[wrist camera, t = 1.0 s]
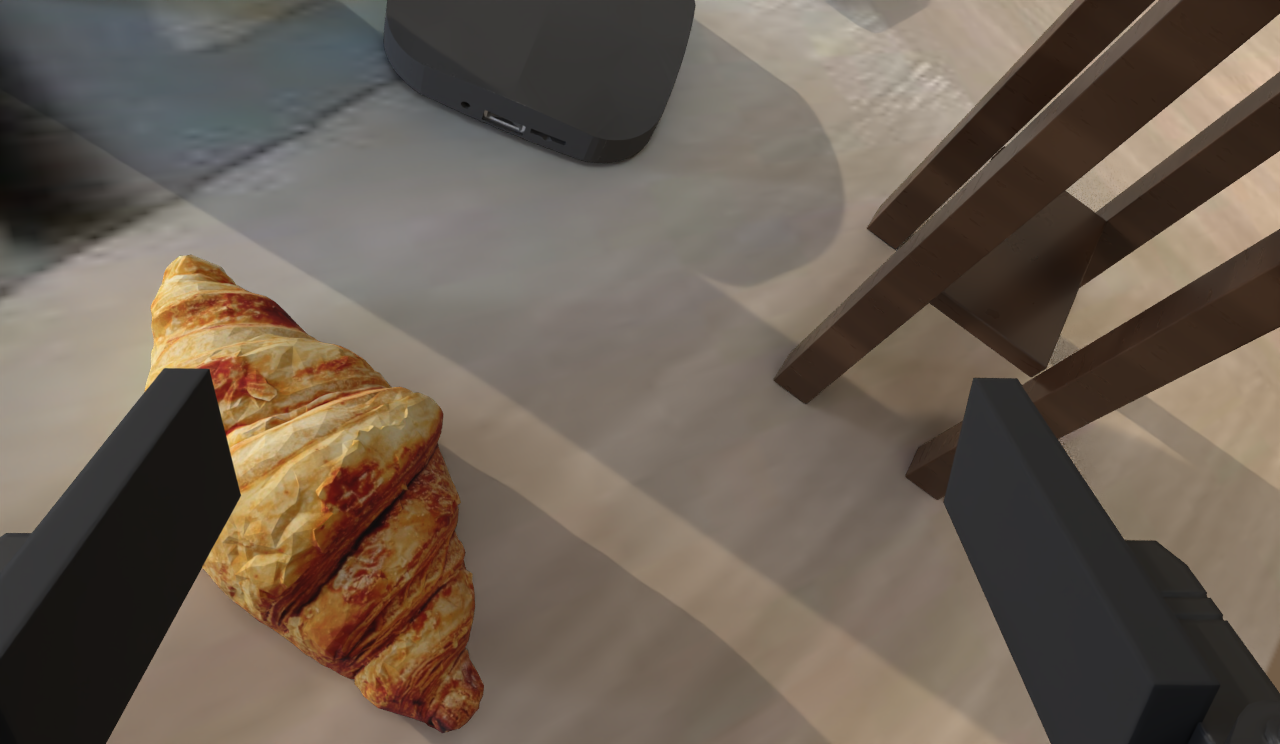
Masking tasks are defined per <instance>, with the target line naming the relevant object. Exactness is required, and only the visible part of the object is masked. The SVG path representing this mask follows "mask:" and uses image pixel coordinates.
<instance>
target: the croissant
mask: <svg viewBox="0 0 1280 744" xmlns="http://www.w3.org/2000/svg"><path fill="white" fill-rule="evenodd" d="M151 313H152V325H151V329H152V332H153V337H154V348H153V350H152V352H151V366H152V367H151V370H150V373H149V376H148V380H147V383H146V388H145V391H146V390H147V389H148V387H149V386H150V385H151V384H152V382H153V381H154V380H155V379H156V377H157V376H158V375H159V374H160V372H161V371H162V370H163V369H164V368H195V369H210V373H211V377H212V381H213V385H214V389H215V393H216V397H217V401H218V405H219V409H220V413H221V417H222V421H223V425H224V429H225V433H226V437H227V441H228V445H229V449H230V453H231V457H232V461H233V465H234V469H235V473H236V477H237V481H238V485H239V489H240V493H241V497H240V499H239V501H238V502H237V504H236V506H235V508H234V510H233V512H232V513H231V515H230V517H229V519H228V521H227V523H226V524H225V526H224V528H223V530H222V532H221V534H220V535H219V537H218V539H217V541H216V543H215V545H214V546H213V548H212V550H211V552H210V554H209V556H208V557H207V559H206V561H205V563H204V565H203V568H204V570H205V571H206V572H207V573H208V574H209V575H210V577H211V578H212V579H213V580H214V581H215V583H216V584H217V585H218V586H219V588H220V589H221V590H222V591H223V592H224V593H225V594H226V595H227V596H228V597H229V598H230V599H231V600H233V601H234V602H235V603H237V604H238V605H239V606H241V607H242V608H243V609H245V610H246V611H247V612H249V613H250V614H251V615H252V616H253V617H255V618H256V619H257V620H258V621H260V622H261V623H263V624H265V625H267V626H268V627H270V628H272V629H273V630H275V631H276V632H278V633H279V634H280V635H282V636H283V637H285V638H286V639H287V640H289V641H290V642H291V643H293V644H294V645H295V646H296V647H297V648H299V649H300V650H301V651H302V652H303V653H305V654H306V655H308V656H310V657H312V658H313V659H314V660H316V661H317V662H319V663H320V664H322V665H324V666H326V667H328V668H331V669H332V670H334V671H336V672H337V673H339V674H341V675H343V676H345V677H347V678H349V679H355V685H356V686H357V687H358V688H359V689H360V690H361V692H362V694H363V696H364V697H365V698H366V699H368V700H369V701H370V702H371V703H373V704H374V705H375V706H376V707H378V708H380V709H383V710H387V711H390V712H393V713H397V714H400V715H403V716H407V717H410V718H413V719H416V720H419V721H422V722H425V723H426V724H427V725H428V726H430V727H433V728H435V729H437V730H438V731H440V732H441V733H445V732H449V731H452V730H455V729H459V728H461V727H462V726H463V725H465V724H466V723H467V722H468V721H469V720H470V719H471V717H472V716H473V714H474V713H475V712H476V711H477V710H478V709H479V703H480V700H481V699H482V697H483V690H484V685H483V683H482V680H481V678H480V676H479V674H478V672H477V671H476V669H475V667H474V666H473V664H472V662H471V661H470V659H469V654H468V651H467V650H466V648H465V646H466V644H467V642H468V640H469V635H470V631H471V626H472V623H473V616H474V609H475V594H474V587H473V583H472V573H471V572H469V571H467V570H466V568H465V564H464V560H463V559H464V556H465V550H464V547H463V545H462V542H460V541H459V540H458V537H457V535H456V533H455V530H454V529H455V528H456V526H457V522H458V510H459V509H458V504H460V503H461V502H460V498H459V495H458V493H457V491H456V488H455V486H454V484H453V482H452V480H451V477H450V475H449V472H448V469H447V467H446V464H445V462H444V459H443V457H442V455H441V452H440V450H439V447H438V443H437V442H438V439H439V437H440V434H441V429H442V423H443V412H442V410H441V408H440V407H439V406H438V405H437V403H436V402H435V401H434V400H433V399H431V398H430V397H428V396H425V395H423V394H420V393H413V392H412V391H410V390H408V389H406V388H402V387H394V388H392V387H391V386H390V385H389V384H388V383H387V382H386V381H385V380H384V378H383V377H382V376H381V374H380V373H378V372H376V371H374V370H373V368H372V367H371V366H370V365H369V364H368V363H367V362H366V361H365V360H364V359H363V358H361V357H359V356H358V355H356V354H355V353H353V352H351V351H350V350H348V349H346V348H344V347H341V346H338V345H335V344H328V343H322V342H319V341H317V340H316V339H315V338H313V337H311V336H309V335H308V334H307V333H306V332H305V331H304V330H303V329H302V328H301V327H300V326H299V325H298V324H297V323H296V322H295V321H294V320H293V319H292V318H291V317H290V316H289V315H288V314H287V313H286V312H285V311H284V310H283V309H282V308H281V307H280V306H279V305H278V304H277V303H276V302H274V301H273V300H271V299H269V298H268V297H266V296H262V295H258V294H254V293H251V292H249V291H246V290H244V289H243V288H241V287H239V286H237V285H236V284H235V282H234V281H233V280H232V279H231V278H230V277H229V276H227V274H226V273H225V271H224V270H223V268H222V267H220V266H218V265H215V264H213V263H210V262H208V261H205V260H203V259H200V258H198V257H195V256H193V255H187V256H181V255H180V256H179V257H178V258H177V259H175V260H174V261H173V262H172V263H171V264H170V265H169V266H168V267H167V268H166V270H165V272H164V277H163V281H162V285H161V286H160V289H159V291H158V293H157V295H156V297H155V299H154V301H153V303H152V305H151Z"/></svg>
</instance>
